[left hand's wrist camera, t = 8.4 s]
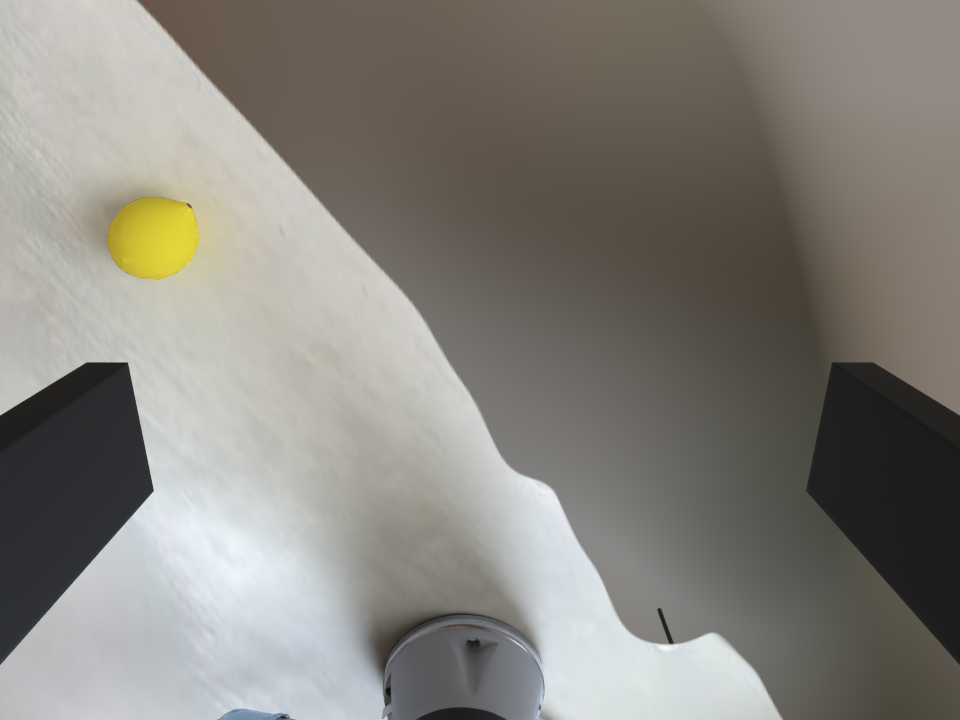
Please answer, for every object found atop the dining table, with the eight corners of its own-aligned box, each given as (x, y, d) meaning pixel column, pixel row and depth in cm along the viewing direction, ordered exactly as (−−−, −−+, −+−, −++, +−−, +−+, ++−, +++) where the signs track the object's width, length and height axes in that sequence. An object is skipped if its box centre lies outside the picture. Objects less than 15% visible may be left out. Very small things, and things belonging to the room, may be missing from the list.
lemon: (165, 287, 49) (129, 306, 44) (111, 229, 48) (68, 242, 43) (232, 232, 48) (202, 245, 43) (179, 171, 46) (142, 177, 41)
